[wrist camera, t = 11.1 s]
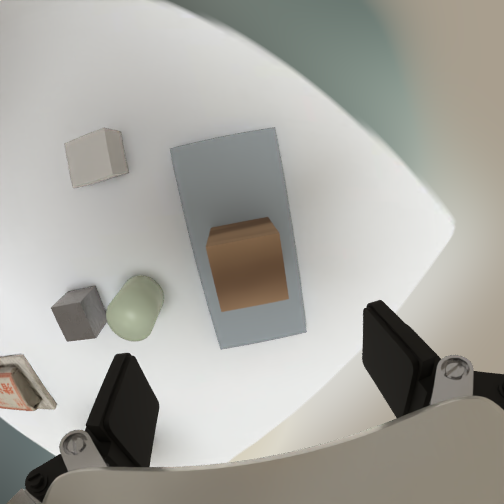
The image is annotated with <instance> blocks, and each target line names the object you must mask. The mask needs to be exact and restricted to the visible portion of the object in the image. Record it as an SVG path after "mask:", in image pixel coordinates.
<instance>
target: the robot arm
mask: <svg viewBox="0 0 504 504" xmlns="http://www.w3.org/2000/svg"><path fill="white" fill-rule="evenodd" d="M362 355H363V356H362V360H363V364H364V367H365V368H366V370H367V371H368V373H369V374H370V376H371V378H372V379H373V381H374V382H375V384H376V385H377V387H378V389H379V390H380V392H381V393H382V395H383V397H384V398H385V400H386V401H387V403H388V405H389V406H390V408H391V410H392V411H393V413H394V414H395V416H396V418H397V419H394V420H392V421H389V422H387V423H384V424H382V425H379V426H376V427H373V428H370V429H368V430H365V431H362V432H359V433H357V434H353V435H350V436H347V437H344V438H341V439H338V440H334V441H331V442H327V443H324V444H320V445H317V446H313V447H309V448H305V449H301V450H297V451H292V452H288V453H283V454H278V455H273V456H268V457H263V458H257V459H251V460H244V461H237V462H229V463H221V464H211V465H200V466H184V467H149V466H150V459H151V453H152V446H153V440H154V434H155V429H156V423H157V417H158V412H159V402H158V400H157V398H156V396H155V394H154V392H153V391H152V389H151V387H150V385H149V383H148V381H147V379H146V377H145V375H144V373H143V372H142V370H141V368H140V366H139V364H138V362H137V359H136V358H135V356H131V354H130V353H122V354H116V355H115V356H114V359H113V361H112V363H111V365H110V368H109V370H108V372H107V374H106V377H105V379H104V381H103V384H102V386H101V388H100V391H99V393H98V396H97V398H96V400H95V403H94V405H93V408H92V410H91V413H90V415H89V418H88V420H87V423H86V426H87V427H86V429H85V431H83V430H74V431H71V432H69V433H68V434H66V435H65V436H64V437H63V438H62V440H61V442H60V446H59V449H60V453H61V454H59V455H58V456H56V457H54V458H53V459H51V460H50V461H48V462H46V463H44V464H43V465H41V466H39V467H37V468H36V469H34V470H32V471H31V472H30V473H29V474H28V476H27V478H26V481H25V486H26V490H23V489H21V490H20V491H19V492H18V493H17V494H16V495H15V496H14V497H13V498H12V499H11V500H10V501H9V502H8V503H7V504H504V374H495V373H486V372H477V371H473V365H472V363H471V362H470V361H469V360H468V359H467V358H465V357H462V356H459V355H450V356H446V357H444V358H443V359H441V358H440V357H439V356H438V355H437V354H436V353H435V352H434V351H433V350H432V349H431V348H430V347H429V346H428V345H427V344H426V343H425V342H424V341H423V340H422V339H421V338H420V337H419V336H418V335H417V334H416V333H415V332H414V331H413V330H412V329H411V327H409V326H408V325H407V324H405V323H404V322H403V321H402V320H401V319H400V318H399V317H398V316H397V315H396V314H395V313H394V312H393V311H392V310H391V309H390V308H389V307H388V306H387V305H386V304H385V303H384V302H383V301H382V300H378V301H375V302H372V303H368V304H367V308H364V310H363V353H362Z"/></svg>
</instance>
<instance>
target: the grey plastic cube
mask: <svg viewBox="0 0 504 504" xmlns="http://www.w3.org/2000/svg"><path fill="white" fill-rule="evenodd" d="M65 150H66V156H67V161H68V167H69V172H70V177H71V182H72V186H73V188H78V187H82V186H87V185H92V184H95V183H98V182H101V181H104V180H107V179H110V178H113V177H116V176H119V175H123V174H126V173H129V172H128V167H127V162H126V157H125V152H124V147H123V142H122V136H121V132H120V131H116V130H112V129H107V128H102V129H99V130H97V131H94V132H91V133H89V134H86V135H84V136H81V137H79V138H77V139H74V140H72V141H70V142H67V143H65Z"/></svg>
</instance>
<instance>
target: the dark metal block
mask: <svg viewBox="0 0 504 504" xmlns="http://www.w3.org/2000/svg"><path fill="white" fill-rule="evenodd" d="M51 309H52V311H53V313H54V316H55V318H56V320H57V322H58V324H59V326H60V328H61V330H62V333H63V335H64V337H65V339H66V340H67V341H76V340H85V339H93V338H97V336H98V335H99V333H100V332H101V330H102V329H103V327H104V326H105V324H106V323H107V318H106V311H105V308H104V306H103V303H102V301H101V298H100V296H99V293H98V291H97V288H96V286H92V287H87V288H83V289H78V290H74V291H69V292H67V293H66V294H65V295H64V296H63V297H62V298H61V299H59V300H58V301H57V302H56V303H55V304H54V305H53V306H52V307H51Z"/></svg>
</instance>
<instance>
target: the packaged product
mask: <svg viewBox="0 0 504 504" xmlns="http://www.w3.org/2000/svg"><path fill="white" fill-rule="evenodd" d="M56 405H57V404H56V402H55V401H54V400H53V398H52V397H51V395H50V394H49V393H48V391H47V390H46V388H45V387H44V385H43V384H42V382H41V381H40V379H39V378H38V376H37V375H36V374H35V372H34V371H33V369H32V367H31V366H30V364H29V362H28V361H27V359H26V358H25V356H24V355H13V356H7V357H0V408H4V409H14V410H25V411H35V410H37V409H55V408H56Z"/></svg>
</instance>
